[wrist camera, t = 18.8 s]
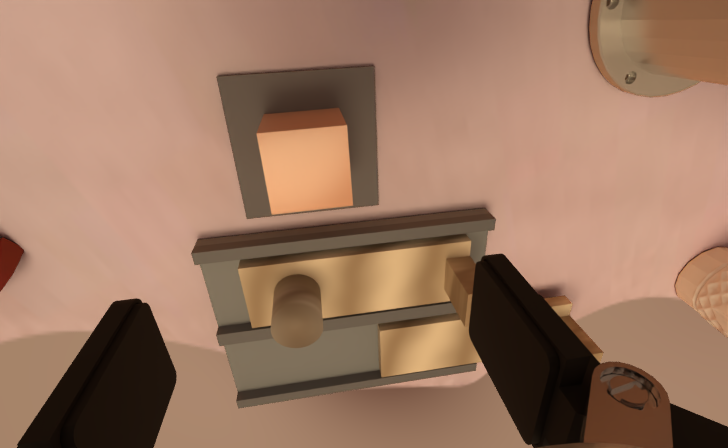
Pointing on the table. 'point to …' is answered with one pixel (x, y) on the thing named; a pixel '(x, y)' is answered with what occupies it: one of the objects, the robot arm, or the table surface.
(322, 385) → the lane board
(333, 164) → the cube
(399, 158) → the table surface
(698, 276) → the white cup
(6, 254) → the teeth model
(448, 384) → the table surface
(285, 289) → the brown post
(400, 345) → the strip far
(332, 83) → the mat
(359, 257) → the strip near
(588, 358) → the robot arm
